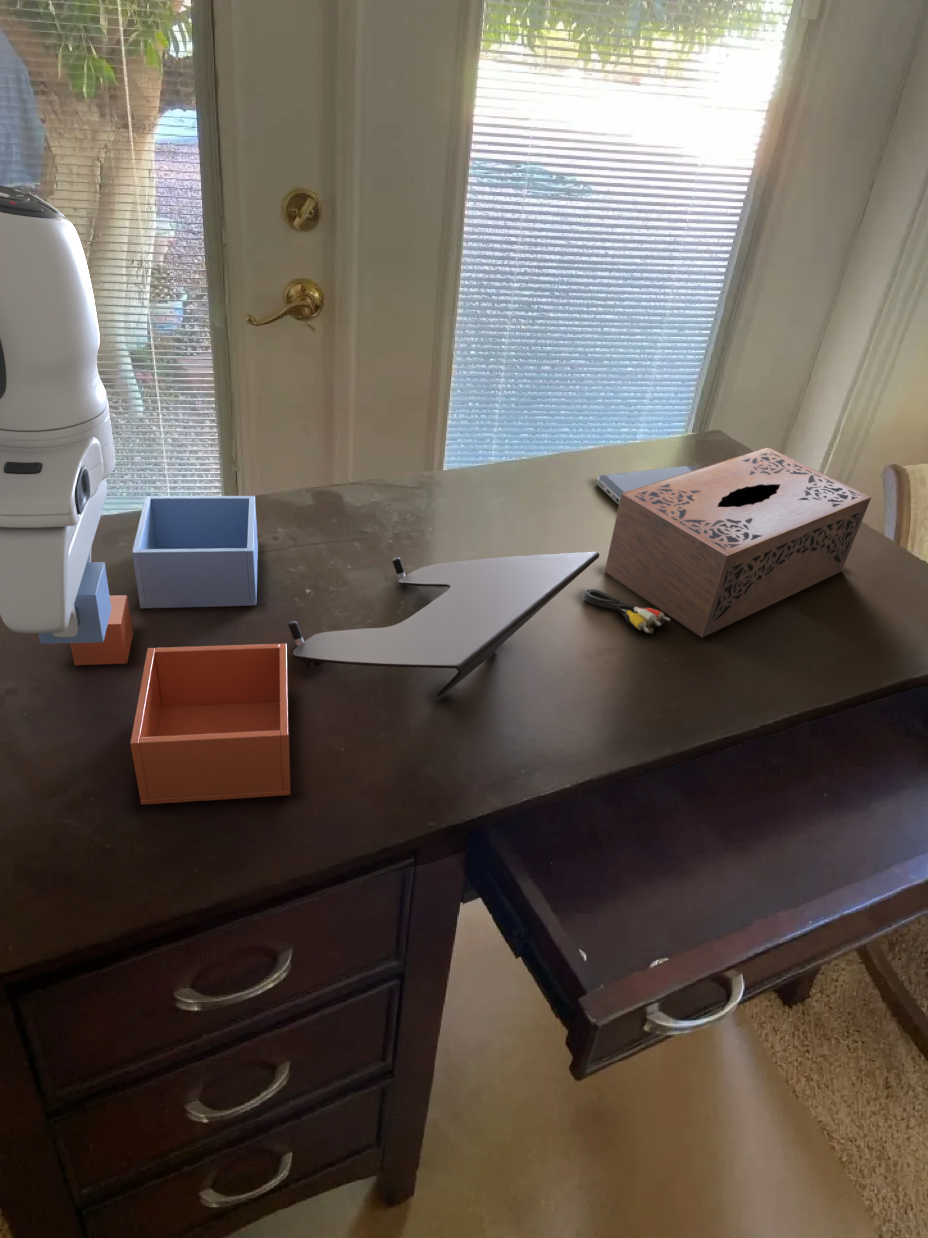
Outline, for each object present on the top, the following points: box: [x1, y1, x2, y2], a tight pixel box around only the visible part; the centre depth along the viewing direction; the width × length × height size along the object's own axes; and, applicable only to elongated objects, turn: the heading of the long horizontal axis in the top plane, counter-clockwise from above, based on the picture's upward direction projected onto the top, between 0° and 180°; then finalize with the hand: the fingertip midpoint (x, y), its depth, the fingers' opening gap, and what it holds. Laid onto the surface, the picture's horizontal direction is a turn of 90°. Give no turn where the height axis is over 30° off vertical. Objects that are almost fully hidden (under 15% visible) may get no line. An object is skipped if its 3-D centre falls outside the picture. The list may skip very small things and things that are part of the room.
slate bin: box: [131, 495, 259, 609], centre depth 91 cm, size 11×11×6 cm
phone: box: [596, 465, 699, 506], centre depth 119 cm, size 8×1×16 cm
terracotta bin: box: [129, 643, 291, 806], centre depth 71 cm, size 11×11×6 cm
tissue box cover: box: [604, 446, 872, 638], centre depth 101 cm, size 26×14×10 cm, turn 127°
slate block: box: [38, 561, 111, 645], centre depth 68 cm, size 4×4×4 cm
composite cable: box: [583, 588, 671, 635], centre depth 94 cm, size 10×5×2 cm, turn 39°
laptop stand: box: [287, 551, 600, 698], centre depth 84 cm, size 23×23×9 cm
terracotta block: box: [69, 594, 134, 666], centre depth 81 cm, size 4×4×4 cm
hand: (73, 609), depth 69 cm, fingers closed on slate block, 4 cm apart
